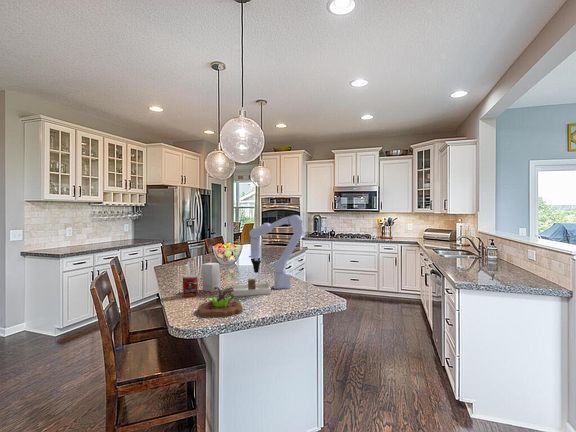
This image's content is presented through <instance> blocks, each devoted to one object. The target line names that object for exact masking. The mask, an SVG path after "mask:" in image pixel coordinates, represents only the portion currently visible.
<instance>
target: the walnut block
mask: <svg viewBox="0 0 576 432" xmlns="http://www.w3.org/2000/svg"><path fill="white" fill-rule="evenodd" d="M247 284H248V290H252V289H256V286H255V284H256V278H248V279H247Z"/></svg>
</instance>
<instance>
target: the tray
mask: <svg viewBox="0 0 576 432" xmlns="http://www.w3.org/2000/svg"><path fill="white" fill-rule="evenodd" d="M255 286H256V289H252V290H248V283H246V284H245V283H244V284H234V285H233V291H232V292H233V297H242V296H243V297H244V296H259V295H260V296H261V295H271V294H272V289H271V286H270V283H269V282H264V283H255Z"/></svg>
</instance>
